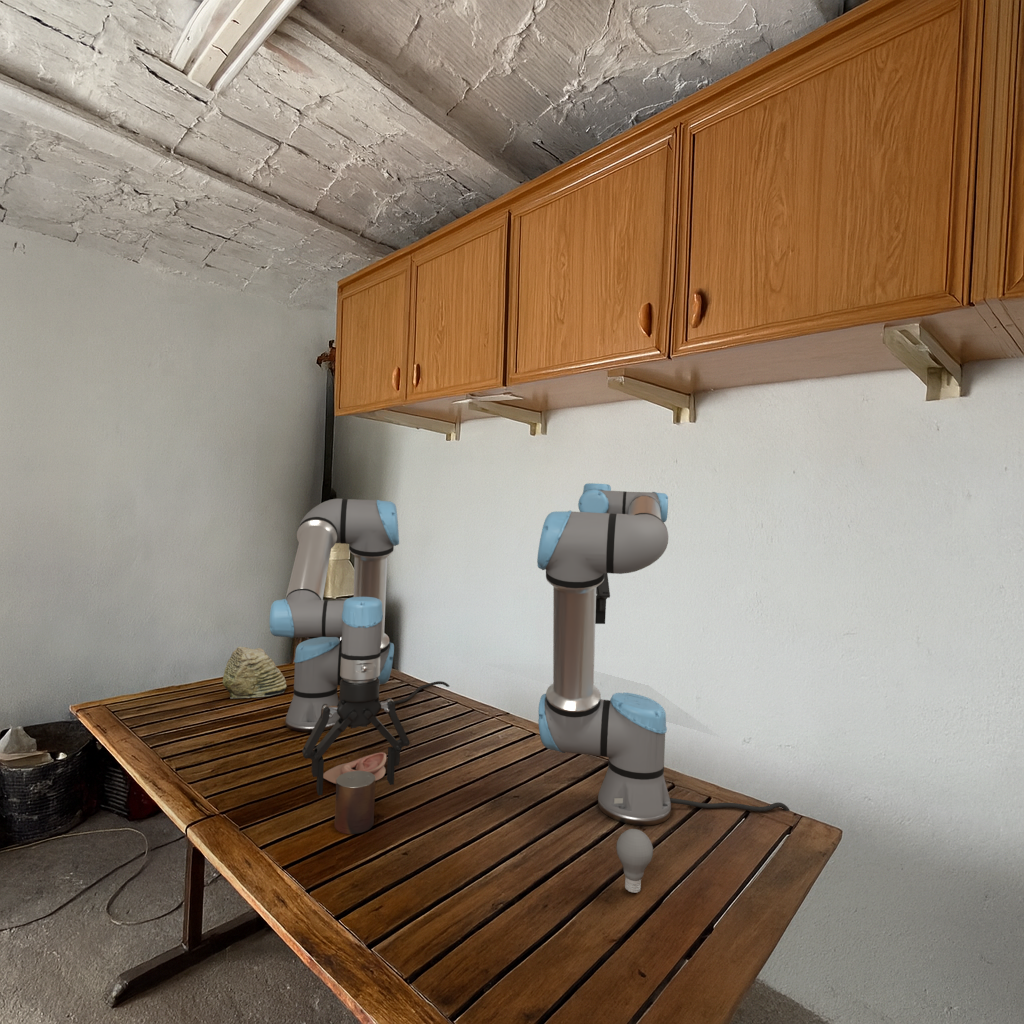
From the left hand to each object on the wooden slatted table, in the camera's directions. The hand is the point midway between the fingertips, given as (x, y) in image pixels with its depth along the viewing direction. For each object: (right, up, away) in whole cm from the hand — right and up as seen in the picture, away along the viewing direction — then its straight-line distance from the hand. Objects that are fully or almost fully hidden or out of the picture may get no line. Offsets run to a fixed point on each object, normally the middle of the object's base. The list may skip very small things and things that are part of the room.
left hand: (355, 787), depth 123 cm
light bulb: (+51, -10, -17) cm, 54 cm away
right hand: (+52, +24, +49) cm, 75 cm away
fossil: (-50, -4, +75) cm, 90 cm away
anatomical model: (-6, -7, +22) cm, 23 cm away
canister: (0, -7, 0) cm, 7 cm away
